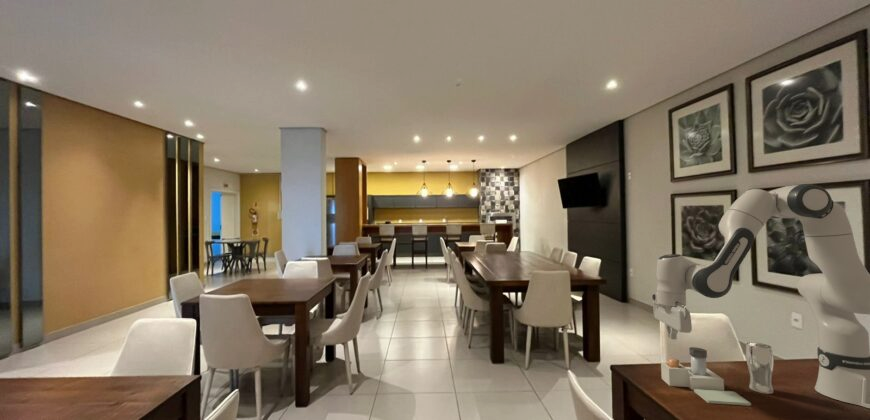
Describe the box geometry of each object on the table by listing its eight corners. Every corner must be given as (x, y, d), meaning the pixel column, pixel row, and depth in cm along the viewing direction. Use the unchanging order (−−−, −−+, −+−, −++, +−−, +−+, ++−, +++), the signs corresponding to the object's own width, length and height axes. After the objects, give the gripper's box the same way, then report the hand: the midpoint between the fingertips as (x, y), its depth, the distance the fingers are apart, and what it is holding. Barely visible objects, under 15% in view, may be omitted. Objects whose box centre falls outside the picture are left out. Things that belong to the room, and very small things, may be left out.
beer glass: (780, 395, 117) (778, 349, 118) (756, 393, 119) (753, 347, 119) (765, 386, 124) (763, 342, 125) (742, 384, 125) (740, 341, 126)
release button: (676, 369, 129) (676, 358, 129) (681, 373, 126) (681, 361, 126) (667, 369, 129) (666, 358, 130) (671, 372, 126) (671, 361, 126)
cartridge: (703, 381, 128) (701, 347, 129) (711, 387, 123) (709, 352, 124) (687, 380, 129) (686, 347, 130) (695, 386, 124) (694, 351, 125)
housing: (706, 379, 130) (705, 362, 131) (724, 391, 120) (723, 373, 121) (659, 376, 133) (658, 360, 133) (672, 388, 123) (671, 370, 123)
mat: (733, 393, 119) (733, 391, 119) (751, 405, 111) (750, 403, 111) (694, 391, 121) (694, 389, 121) (708, 403, 113) (708, 400, 113)
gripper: (696, 306, 118) (698, 348, 117) (667, 294, 138) (667, 330, 138) (676, 305, 119) (677, 347, 118) (649, 293, 139) (650, 329, 139)
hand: (671, 338), depth 128 cm, fingers closed
